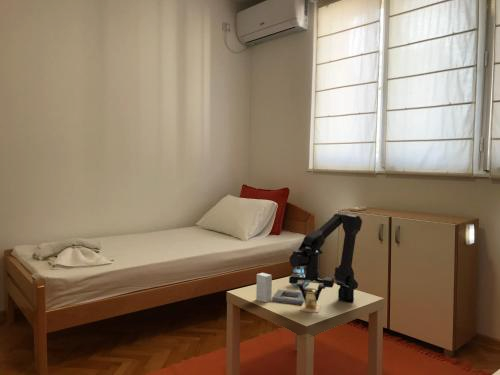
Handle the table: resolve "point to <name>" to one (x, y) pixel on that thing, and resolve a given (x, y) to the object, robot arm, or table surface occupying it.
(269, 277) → the skincare box
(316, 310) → the pad
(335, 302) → the table surface
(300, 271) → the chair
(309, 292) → the brass flared knob
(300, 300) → the grey flat rectangular frame
